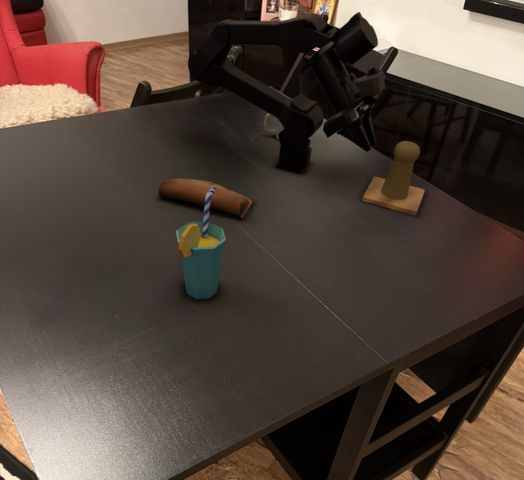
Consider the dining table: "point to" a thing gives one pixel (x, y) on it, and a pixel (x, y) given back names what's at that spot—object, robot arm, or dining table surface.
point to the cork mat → (405, 205)
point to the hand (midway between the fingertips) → (371, 147)
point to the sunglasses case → (197, 194)
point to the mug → (272, 131)
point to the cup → (201, 254)
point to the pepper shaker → (401, 171)
